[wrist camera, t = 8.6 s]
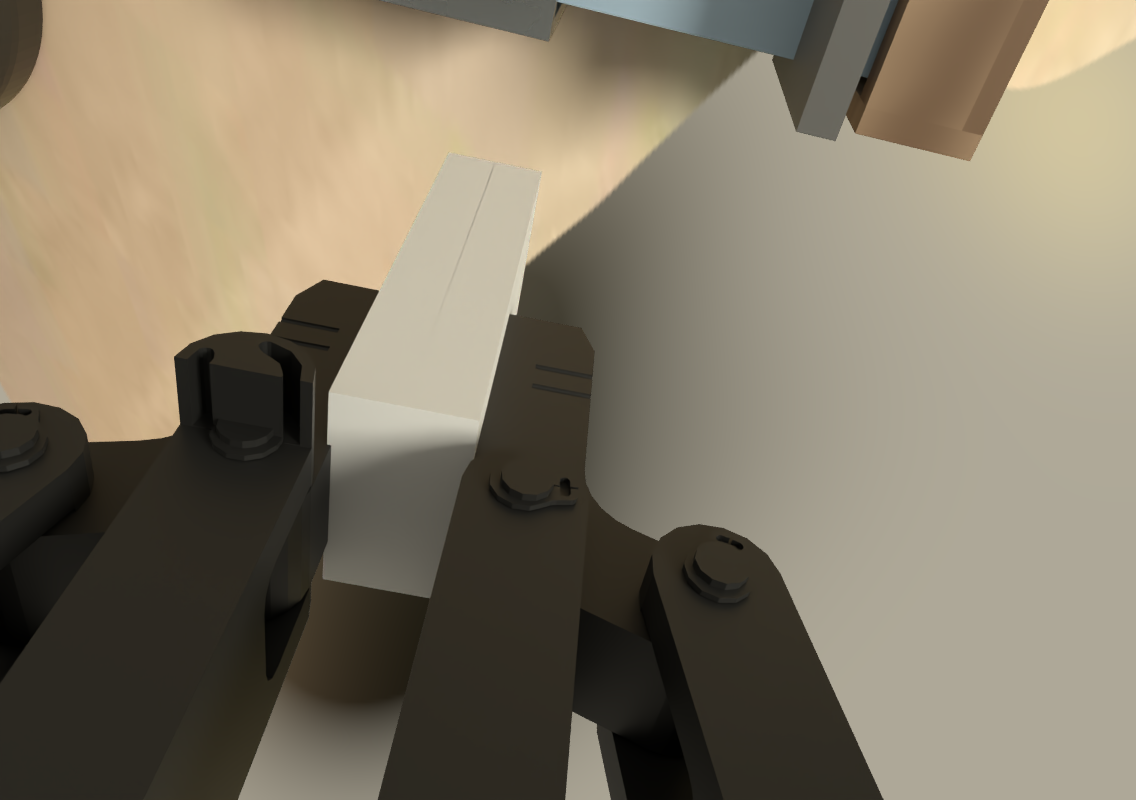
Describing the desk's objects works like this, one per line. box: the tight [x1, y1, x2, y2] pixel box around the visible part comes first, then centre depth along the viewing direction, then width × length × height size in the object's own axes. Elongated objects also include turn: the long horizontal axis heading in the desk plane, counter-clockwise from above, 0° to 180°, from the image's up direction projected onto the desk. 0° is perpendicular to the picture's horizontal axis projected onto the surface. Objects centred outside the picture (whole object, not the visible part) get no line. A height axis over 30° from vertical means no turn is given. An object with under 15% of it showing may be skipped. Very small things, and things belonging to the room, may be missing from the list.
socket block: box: [846, 0, 1049, 161], centre depth 34 cm, size 4×7×7 cm, turn 168°
